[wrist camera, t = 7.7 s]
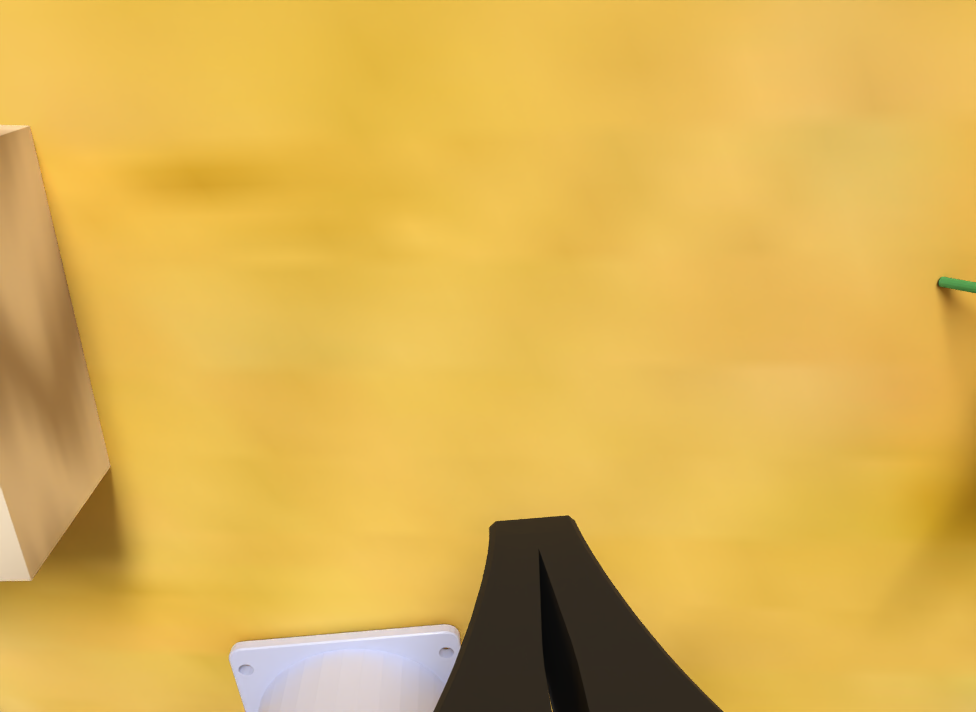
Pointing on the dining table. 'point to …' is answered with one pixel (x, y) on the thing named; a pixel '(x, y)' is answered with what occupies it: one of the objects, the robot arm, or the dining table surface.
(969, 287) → the lily
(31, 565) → the maple block
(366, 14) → the dining table surface
